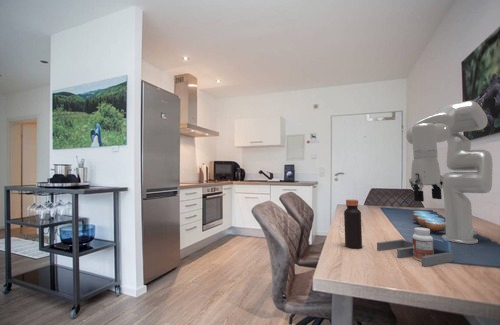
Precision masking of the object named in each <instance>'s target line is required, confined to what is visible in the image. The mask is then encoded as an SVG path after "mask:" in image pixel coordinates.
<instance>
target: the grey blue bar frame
mask: <svg viewBox="0 0 500 325" xmlns="http://www.w3.org/2000/svg"><path fill="white" fill-rule="evenodd" d="M432 238H433V251H434V255H428V256H423V257H421V261H420V262H421V263H420V264H421V267H425V268H426V267H427V268H428V267H432V266H437V265H442V264H448V263H452V262H453V263H454V252H452V246H451V245H452V241H449V239H446V238H442V239H437V238H434V237H432ZM394 249H396V258H398V259H402V258H403V259H404V258H408V257H409V258H410V257H413V241H412V240H411V241H410V240H406V239H394V240H388V241H387V240H386V241H380V242H379V241H378V242H376V251H379V252H380V251H387V250H394Z"/></svg>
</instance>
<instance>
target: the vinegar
mask: <svg viewBox="0 0 500 325" xmlns="http://www.w3.org/2000/svg"><path fill="white" fill-rule="evenodd" d="M345 205H346V206H345V207H346V209H345V210H344V211H343V218H344V219H343V223H344V226H343V227H344V244H345V245H344V246H345V247H346V248H348V249H354V250H355V249H356V250H357V249H362V248H363V235H362V232H363V231H362V213H361V210H360V209H358V207H359V200H358V199H346V200H345Z"/></svg>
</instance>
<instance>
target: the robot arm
mask: <svg viewBox="0 0 500 325" xmlns="http://www.w3.org/2000/svg"><path fill="white" fill-rule="evenodd" d="M488 123H489V122H488V117H487V114H486V112H485V110H484V109H483V108H482V107H481V105H480V104H479V103H478V102H476V101H474V100H466V101H462V102H457V103H456V102H455V103H450V104H447V105H444V106H442V107H441V108H440V109H439V110H438V111H436V113H434V114H433V115H431V116H427V117H426V118H424V119H421V120H418V121H417V122H414V123H413V124H412V125H411V126H410V127H409V128H408V129H407V131H406V137H405V138H406V140H407V142H408V143H409V144H411V145H412V151H413V155H412V156H413V159H412V163H411V175H410V176H411V177H410V178H409V180H408V182H409V185H410V187H411V189H412V191H413V198H414V201H415V202H424V201H425V199H424V198H425V197H424V190H423V188H424V187H425V186H431V187H432V188H431V198H432V199H433V200H434V199H435V200H443V203H444V216H445V217H444V220H445V234H442V235H441V238H442V239H443V238H446V239H449V242H451V243H458V244H465V245H466V244H467V245H469V244H471V245H473V244H474V245H475V244H478V243H479V240H478V239H477V238H476V237H474V236H476V235H478V231H477V230H474V229H473V212H472V202H471V200H470V198H468V197H467V196H466V195H465V194H487V193H489V192H491V190H492V189H493V188H492V186H493V157H492V154H491V152H490V151H488V150H486V149H471V145H472V144H471V140H470V139H469V138H467V137H466V135H465V136H464V135H463V134H462V133H464V132H473V131H480V130H483V129H485V128H486V127H487V126H488ZM445 141H446V142H447V154H446V167H447V168H448V169H449V170H450V172H445V173H444V174H442V175H441V170H440V164H439V160H438V157H439V156H438V143H443V142H445ZM442 193H443V194H442ZM442 196H443V198H444V199H443V198H442Z"/></svg>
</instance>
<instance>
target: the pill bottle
mask: <svg viewBox="0 0 500 325" xmlns="http://www.w3.org/2000/svg"><path fill="white" fill-rule="evenodd" d="M433 238H434V237H433V236H431V229H430V228H428V227H427V228H426V227H414V233H413V235H412V238H411V239H412V242H413V256H412V257H413V259H415V260H416V261H420V262H421V257H423V256H428V255H434V251H433Z"/></svg>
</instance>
